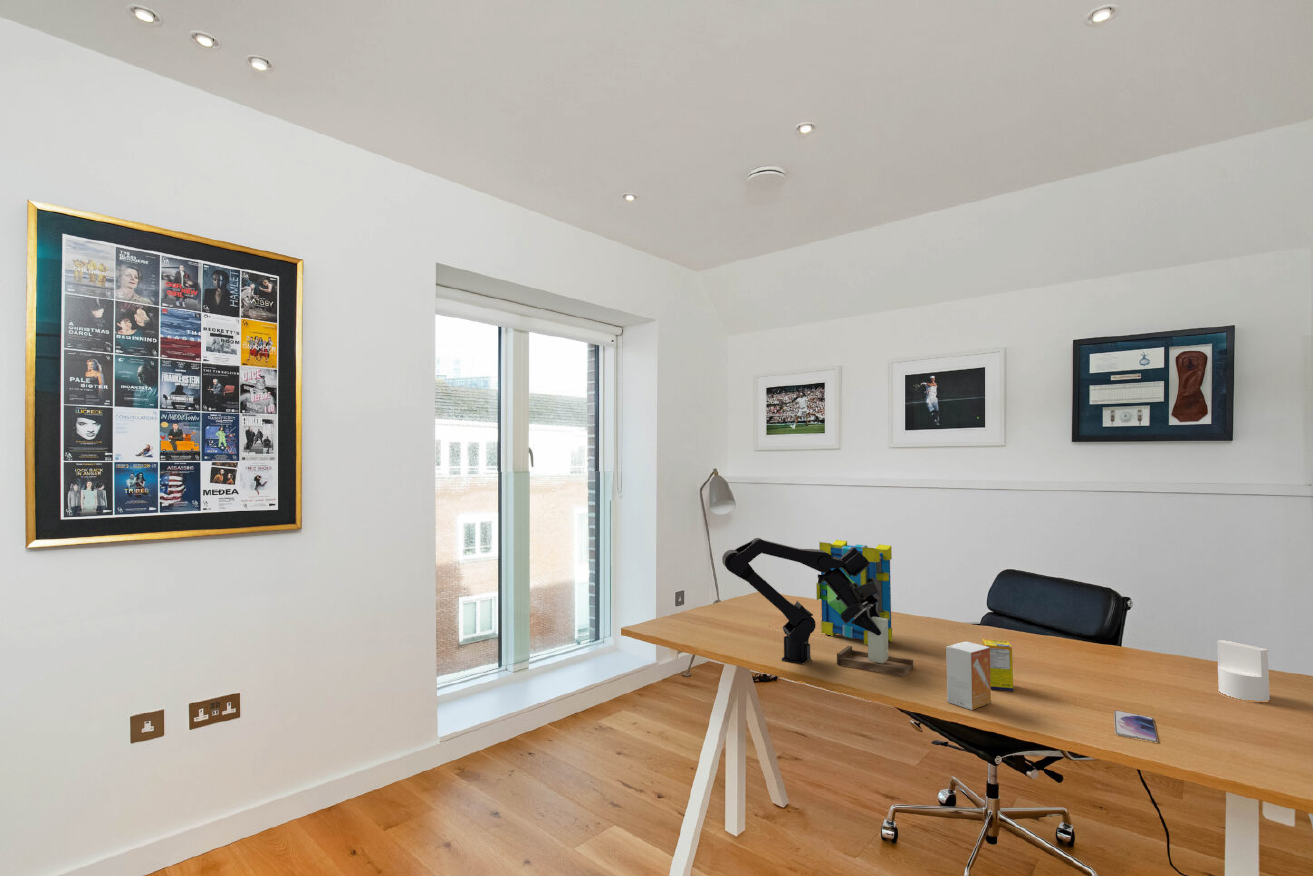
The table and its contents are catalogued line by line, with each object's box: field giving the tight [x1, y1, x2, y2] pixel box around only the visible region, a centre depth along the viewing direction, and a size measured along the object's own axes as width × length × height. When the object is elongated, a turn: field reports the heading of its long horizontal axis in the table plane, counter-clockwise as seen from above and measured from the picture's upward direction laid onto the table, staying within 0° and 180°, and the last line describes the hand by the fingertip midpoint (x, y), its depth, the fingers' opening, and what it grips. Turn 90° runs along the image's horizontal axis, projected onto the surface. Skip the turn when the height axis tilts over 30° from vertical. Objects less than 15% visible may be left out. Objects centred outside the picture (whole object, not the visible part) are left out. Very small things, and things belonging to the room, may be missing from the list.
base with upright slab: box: [1216, 639, 1271, 701], centre depth 152 cm, size 9×9×12 cm
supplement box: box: [981, 638, 1014, 692], centre depth 159 cm, size 6×6×11 cm
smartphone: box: [1113, 710, 1159, 743], centre depth 135 cm, size 7×1×15 cm
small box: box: [945, 640, 992, 711], centre depth 149 cm, size 8×6×13 cm
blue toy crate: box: [815, 539, 893, 646], centre depth 204 cm, size 14×23×30 cm, turn 40°
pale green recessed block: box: [867, 617, 889, 663], centre depth 175 cm, size 4×5×11 cm
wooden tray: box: [836, 645, 914, 678], centre depth 176 cm, size 18×10×3 cm, turn 55°
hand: (882, 632), depth 174 cm, fingers closed on pale green recessed block, 5 cm apart
